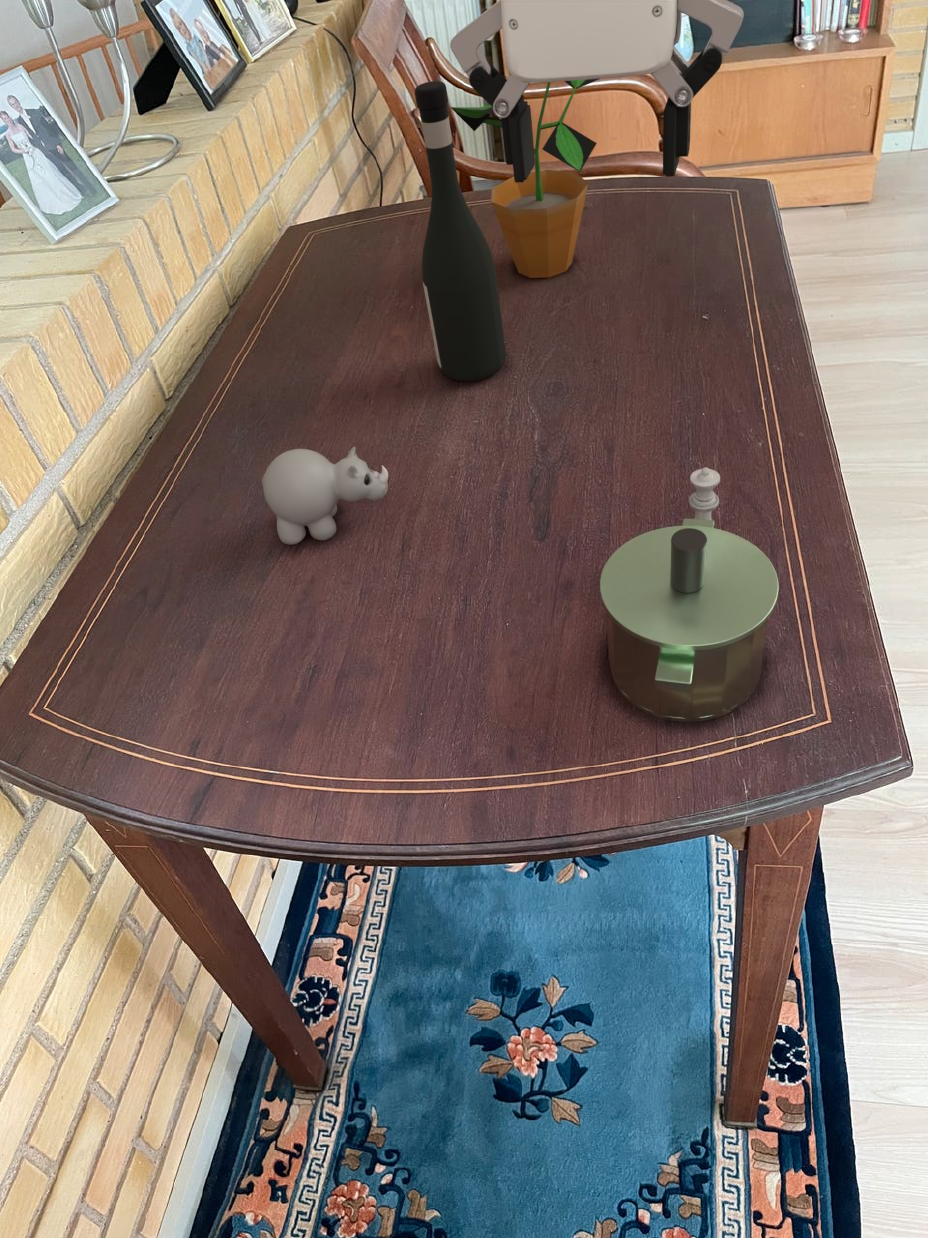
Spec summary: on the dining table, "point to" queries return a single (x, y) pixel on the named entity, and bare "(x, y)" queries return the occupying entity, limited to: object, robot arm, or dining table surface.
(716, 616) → the pot lid
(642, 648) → the pot
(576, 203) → the potted plant
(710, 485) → the chess piece
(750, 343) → the dining table surface
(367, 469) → the toy rhinoceros
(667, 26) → the robot arm
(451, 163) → the wine bottle
